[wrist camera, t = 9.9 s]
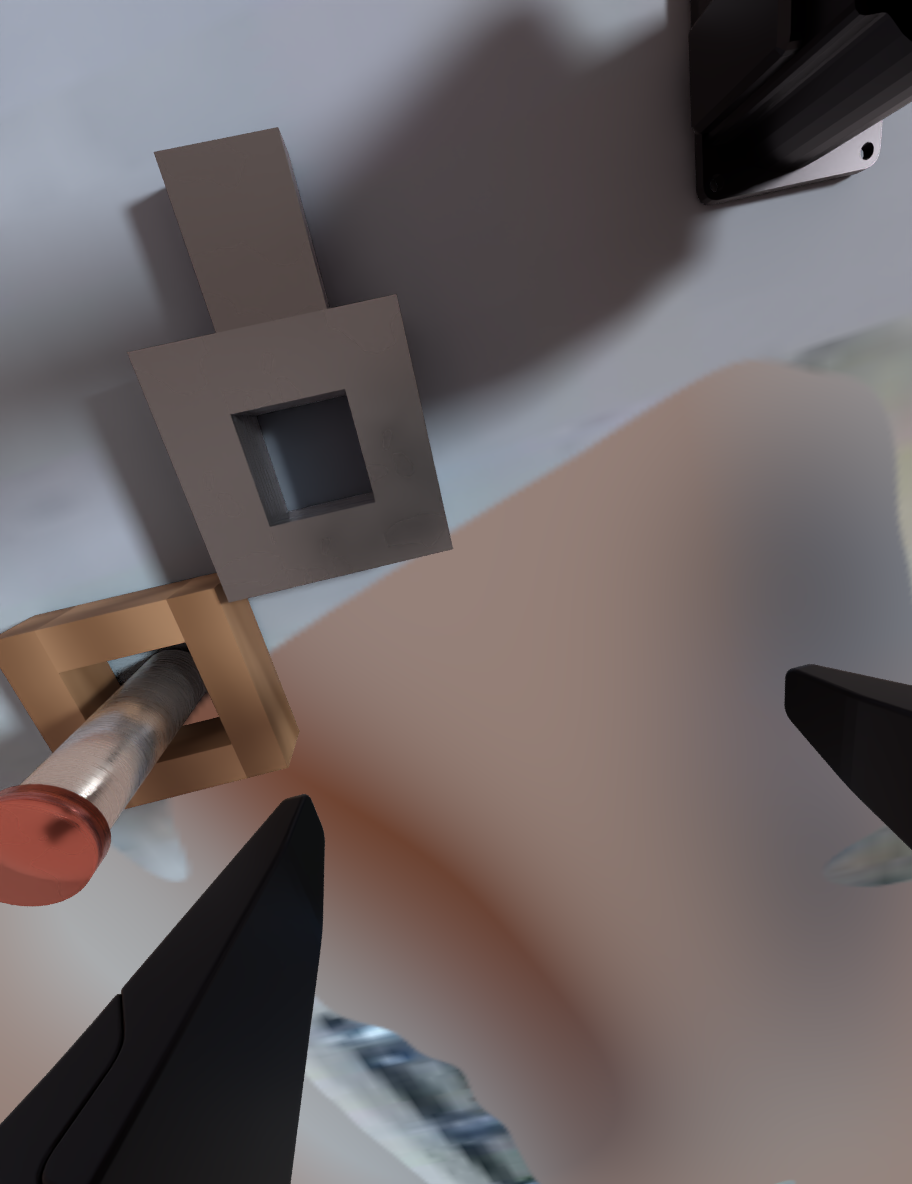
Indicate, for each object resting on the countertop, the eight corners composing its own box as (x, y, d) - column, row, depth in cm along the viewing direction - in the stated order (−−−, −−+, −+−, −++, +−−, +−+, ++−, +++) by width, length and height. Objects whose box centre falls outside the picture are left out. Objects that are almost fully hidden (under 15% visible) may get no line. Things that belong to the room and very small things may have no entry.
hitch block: (356, 139, 16) (348, 78, 13) (444, 531, 20) (453, 548, 17) (105, 190, 15) (40, 139, 12) (252, 576, 20) (229, 602, 17)
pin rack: (235, 568, 20) (214, 588, 17) (299, 731, 22) (288, 767, 20) (34, 615, 19) (-16, 642, 17) (124, 775, 22) (92, 817, 20)
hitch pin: (199, 634, 20) (55, 792, 12) (228, 699, 21) (116, 887, 13) (122, 653, 20) (-80, 827, 12) (155, 717, 21) (-8, 919, 13)
